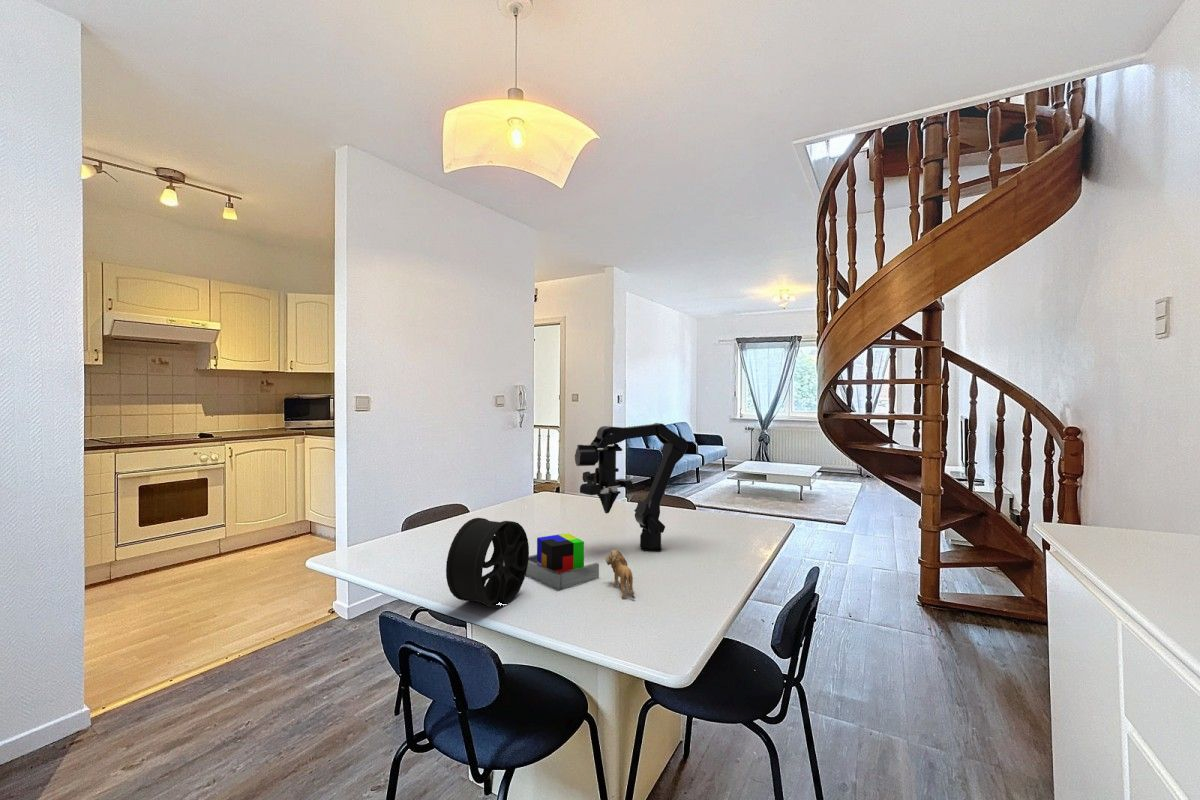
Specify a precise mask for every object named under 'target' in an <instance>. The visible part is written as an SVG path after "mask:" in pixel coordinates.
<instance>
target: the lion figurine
mask: <svg viewBox="0 0 1200 800" xmlns="http://www.w3.org/2000/svg"><path fill="white" fill-rule="evenodd" d="M610 553H611V554H609V555H608V556H607V557H605V559H604V560H605V562H606V565H607V566H610V568H612V571H613V573H614V574H613V575H614V582H615V583H614V584H613V588H619V586H620V587H621V590H622V591H621V592H622V595H621V599H626V598H627V591H628V594H629V596H630V598H631V599H636V597H635V595H634V594H635V591H634V587H633V582H634V578H633V577H634V576H633V572H632V569H631V568H629V566H628V561H627V560H626V558H625V557H624V555H623V553H622V552H620V551H619V550H616V549H613V550H611V551H610ZM619 578H620V579H619ZM626 586H627V591H626V588H625V587H626Z"/></svg>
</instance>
